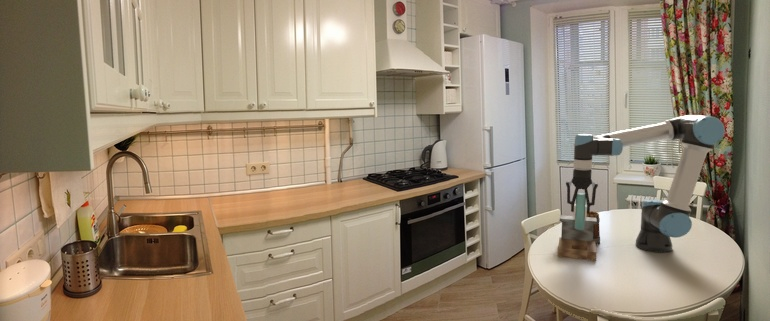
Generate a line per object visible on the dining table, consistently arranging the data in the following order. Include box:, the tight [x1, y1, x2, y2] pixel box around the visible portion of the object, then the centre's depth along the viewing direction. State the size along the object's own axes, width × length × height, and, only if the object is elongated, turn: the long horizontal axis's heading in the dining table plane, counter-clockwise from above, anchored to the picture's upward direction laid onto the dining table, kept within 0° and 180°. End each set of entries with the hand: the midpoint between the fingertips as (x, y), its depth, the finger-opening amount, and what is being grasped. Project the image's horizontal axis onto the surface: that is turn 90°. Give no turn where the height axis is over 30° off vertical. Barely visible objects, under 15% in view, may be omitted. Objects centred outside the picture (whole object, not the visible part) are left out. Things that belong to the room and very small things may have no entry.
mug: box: [587, 210, 601, 246], centre depth 227 cm, size 16×11×15 cm
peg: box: [575, 192, 587, 230], centre depth 204 cm, size 4×4×16 cm
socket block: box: [557, 214, 598, 262], centre depth 210 cm, size 16×17×15 cm
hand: (579, 219), depth 204 cm, fingers closed on peg, 4 cm apart
